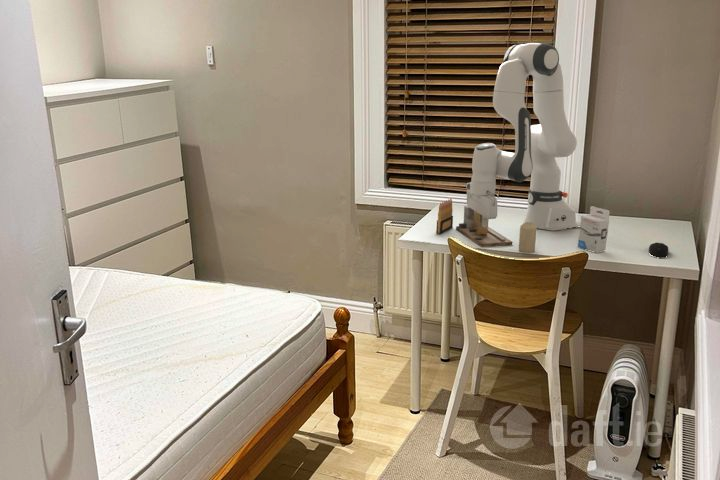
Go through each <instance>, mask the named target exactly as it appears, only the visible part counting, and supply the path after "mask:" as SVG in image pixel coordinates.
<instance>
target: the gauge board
mask: <svg viewBox="0 0 720 480" xmlns="http://www.w3.org/2000/svg"><path fill="white" fill-rule="evenodd" d="M463 209H464V210H463V223H461V222H459V223H458V225H455V230H456V231H458V232H459V233H460V234H462V235H463V236H465V237H466V238H467V239H469V240H471V241H472V242H473V243H474V244H476V245H478V246H479V247H480V248H486V247H489V248H490V247H500V246H501V247H502V246H503V247H504V246H512V245H513V241H512V240H510V239H509V238H507V237H506V236H504V235H502V234H501V233H499V232H498V231H496V230H494V229H492V228H491V226H488V234H479V235H477V234H476V233H474V232H472V233H470V232H469V229H473V228H474V210H472V209H471V208H469V207H468V206H467V205H464V207H463Z"/></svg>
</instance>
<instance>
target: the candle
mask: <svg viewBox="0 0 720 480" xmlns="http://www.w3.org/2000/svg"><path fill="white" fill-rule="evenodd" d="M537 230H538V228H537V227H536V226H535V225H534V223H531V222H529V223H528V222H525V223H524V224H523V223H522V224H521V225H520V227H519V239H518V251H519V252H521V253H527V252H528V253H534V252H535V251H536V250H535V249H536V239H537V238H536V237H537Z"/></svg>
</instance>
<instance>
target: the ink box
mask: <svg viewBox="0 0 720 480" xmlns="http://www.w3.org/2000/svg"><path fill="white" fill-rule="evenodd" d="M589 209H590V210H589V214H584V215H581V216H580V227H579V233H578V243H577V248H578V247H580V248H579V249H582V248H583V249H582V250H585V249H587V250H586V251H588V250H591V251H594V252H597V253H596V254H599V253H598V252H600V251H604V250H605V251H606V247H607V239H608V232H609V224H610V209H609V210H608V209H605V208H600V207H596V206H593V205H591V206H590V208H589ZM591 251H590V252H591ZM605 251H604V252H605ZM594 252H593V253H594ZM600 253H601V252H600Z"/></svg>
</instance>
